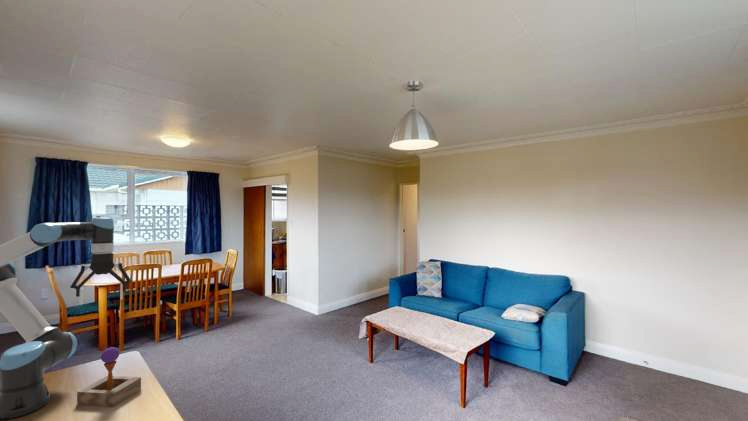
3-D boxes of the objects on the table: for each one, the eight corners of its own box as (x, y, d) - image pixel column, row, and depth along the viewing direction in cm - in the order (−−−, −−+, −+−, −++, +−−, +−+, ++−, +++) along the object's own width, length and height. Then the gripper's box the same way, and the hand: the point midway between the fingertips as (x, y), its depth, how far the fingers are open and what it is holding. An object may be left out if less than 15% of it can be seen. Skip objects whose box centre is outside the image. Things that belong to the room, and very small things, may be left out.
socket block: (76, 404, 129) (77, 391, 129) (107, 387, 142) (107, 375, 142) (113, 406, 127) (113, 393, 127) (140, 389, 140) (141, 377, 140)
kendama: (106, 401, 131) (106, 351, 131) (97, 398, 133) (97, 349, 133) (122, 394, 136) (122, 345, 137) (113, 391, 139) (113, 344, 139)
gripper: (61, 255, 133) (61, 308, 132) (137, 251, 147) (137, 299, 147) (65, 254, 139) (64, 304, 139) (137, 250, 153) (137, 295, 153)
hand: (101, 301), depth 143 cm, fingers open, 13 cm apart
